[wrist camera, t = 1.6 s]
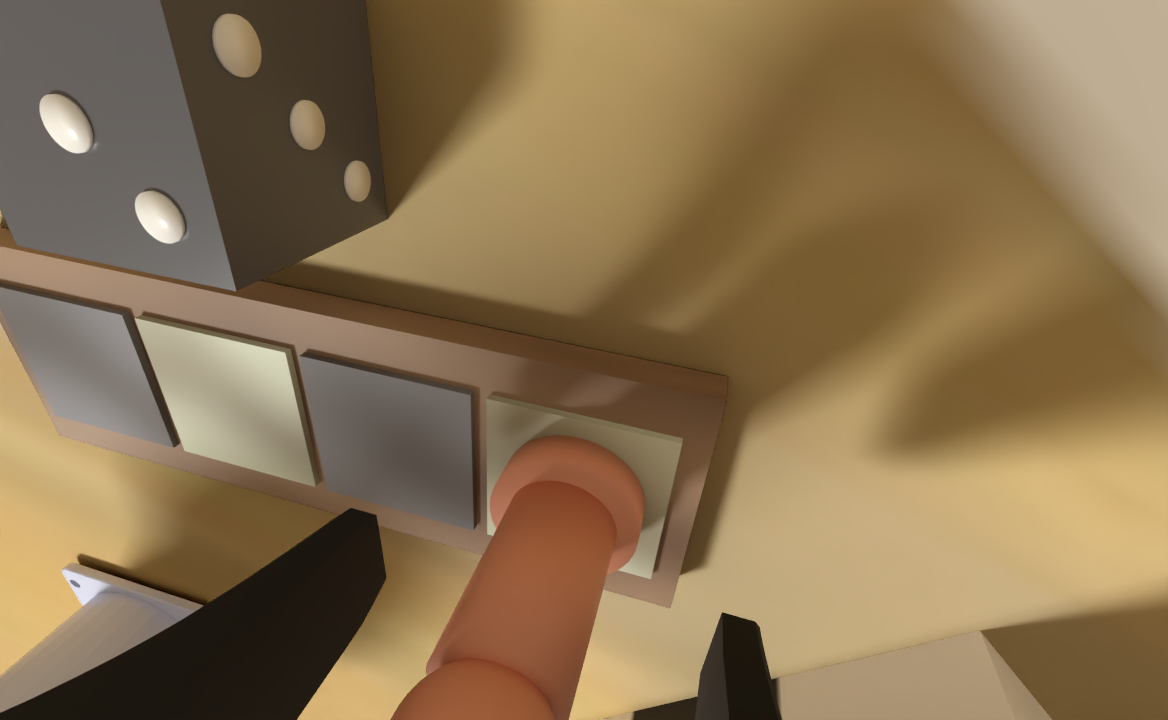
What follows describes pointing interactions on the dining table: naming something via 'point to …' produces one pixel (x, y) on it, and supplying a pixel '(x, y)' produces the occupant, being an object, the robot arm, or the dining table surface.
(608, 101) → the dining table surface
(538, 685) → the pawn
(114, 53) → the die
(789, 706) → the checkerboard
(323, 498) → the track board
